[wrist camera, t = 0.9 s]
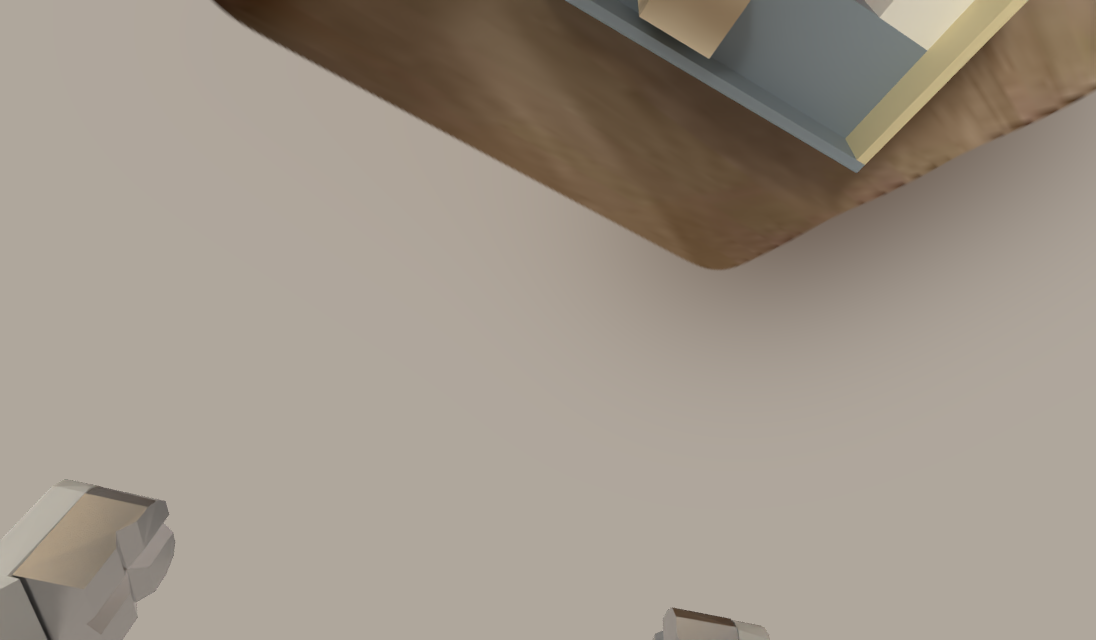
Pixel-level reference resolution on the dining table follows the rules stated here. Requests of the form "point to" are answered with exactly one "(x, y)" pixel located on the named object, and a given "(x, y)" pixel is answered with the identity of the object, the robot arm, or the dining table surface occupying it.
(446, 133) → the dining table surface
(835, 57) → the box
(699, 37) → the block
